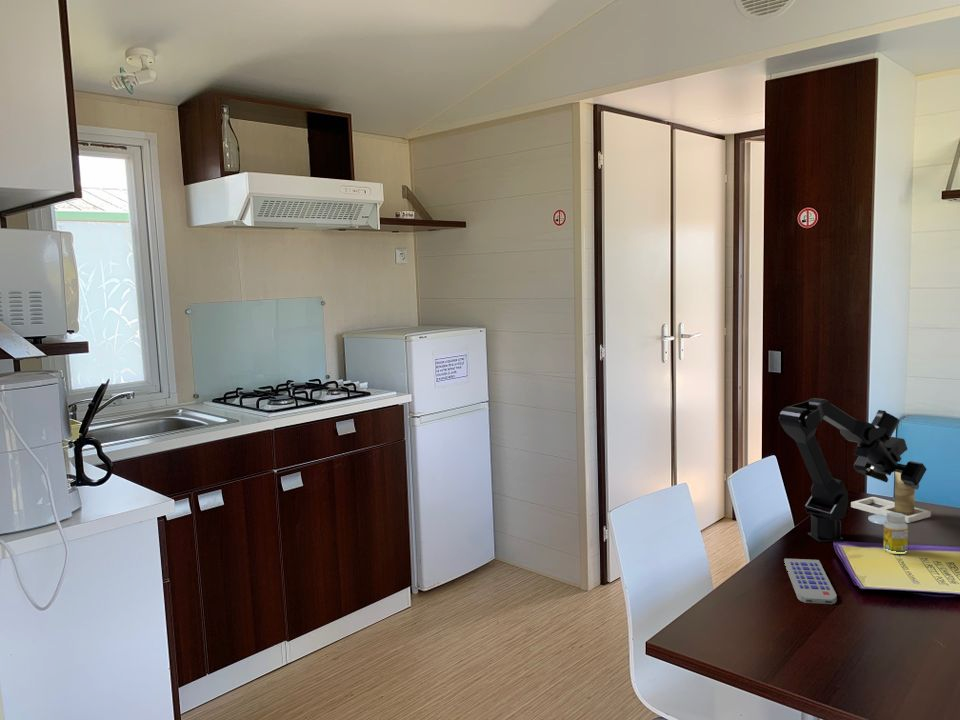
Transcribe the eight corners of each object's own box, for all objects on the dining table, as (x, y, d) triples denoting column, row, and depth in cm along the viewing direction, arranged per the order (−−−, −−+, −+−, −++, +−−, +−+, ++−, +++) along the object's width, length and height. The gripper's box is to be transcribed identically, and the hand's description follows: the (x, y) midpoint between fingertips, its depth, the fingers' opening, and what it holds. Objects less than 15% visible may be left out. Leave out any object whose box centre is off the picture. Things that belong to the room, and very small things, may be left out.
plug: (902, 519, 212) (902, 471, 210) (890, 513, 217) (891, 466, 215) (918, 517, 212) (919, 469, 211) (906, 512, 217) (907, 465, 216)
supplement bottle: (909, 556, 185) (909, 518, 184) (885, 554, 187) (885, 517, 186) (905, 548, 190) (905, 511, 189) (881, 546, 192) (882, 510, 191)
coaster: (881, 527, 206) (881, 525, 206) (861, 517, 215) (861, 515, 215) (911, 524, 207) (911, 523, 207) (890, 514, 216) (890, 513, 216)
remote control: (819, 567, 182) (819, 558, 182) (838, 606, 160) (838, 596, 160) (784, 565, 184) (784, 557, 184) (798, 604, 162) (798, 594, 162)
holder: (908, 523, 208) (908, 517, 208) (851, 507, 224) (851, 502, 224) (930, 516, 212) (930, 511, 212) (873, 501, 229) (873, 496, 228)
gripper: (922, 435, 200) (947, 468, 206) (860, 424, 217) (884, 455, 223) (903, 468, 198) (929, 501, 204) (841, 455, 214) (867, 486, 220)
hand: (902, 484), depth 213 cm, fingers open, 9 cm apart
